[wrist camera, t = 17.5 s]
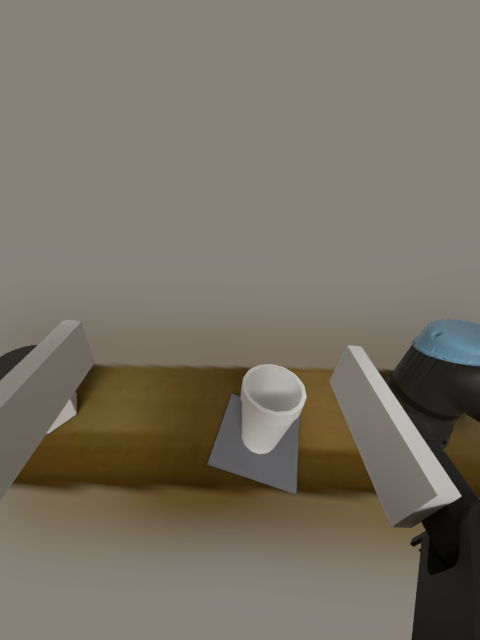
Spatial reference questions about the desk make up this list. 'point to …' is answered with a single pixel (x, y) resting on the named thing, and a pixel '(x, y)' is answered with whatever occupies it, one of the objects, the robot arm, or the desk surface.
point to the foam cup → (269, 405)
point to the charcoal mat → (263, 468)
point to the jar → (11, 359)
